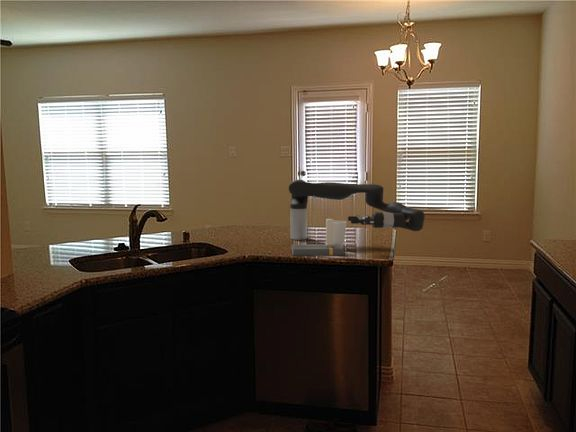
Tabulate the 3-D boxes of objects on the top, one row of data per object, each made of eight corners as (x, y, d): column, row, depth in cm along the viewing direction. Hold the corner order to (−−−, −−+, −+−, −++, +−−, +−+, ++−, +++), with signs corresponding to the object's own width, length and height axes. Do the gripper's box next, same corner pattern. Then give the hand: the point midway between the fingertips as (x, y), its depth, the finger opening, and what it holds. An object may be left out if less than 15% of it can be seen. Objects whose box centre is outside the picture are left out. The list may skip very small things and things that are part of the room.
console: (293, 255, 222) (293, 249, 222) (291, 250, 234) (291, 244, 234) (343, 255, 224) (343, 248, 223) (339, 250, 236) (339, 243, 235)
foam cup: (348, 245, 247) (348, 220, 246) (344, 248, 239) (344, 223, 237) (330, 244, 250) (330, 220, 249) (325, 247, 242) (326, 222, 240)
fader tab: (326, 246, 227) (326, 219, 225) (325, 245, 231) (325, 218, 229) (333, 246, 227) (334, 219, 225) (332, 244, 231) (332, 218, 230)
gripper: (379, 210, 235) (347, 210, 234) (386, 214, 221) (352, 214, 220) (379, 225, 236) (346, 225, 235) (386, 230, 222) (351, 229, 221)
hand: (349, 219), depth 228 cm, fingers open, 8 cm apart
